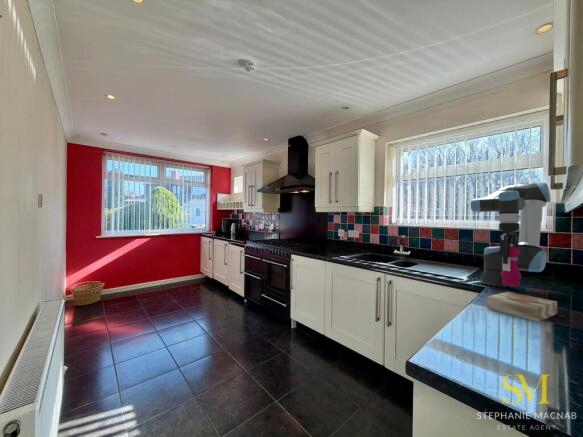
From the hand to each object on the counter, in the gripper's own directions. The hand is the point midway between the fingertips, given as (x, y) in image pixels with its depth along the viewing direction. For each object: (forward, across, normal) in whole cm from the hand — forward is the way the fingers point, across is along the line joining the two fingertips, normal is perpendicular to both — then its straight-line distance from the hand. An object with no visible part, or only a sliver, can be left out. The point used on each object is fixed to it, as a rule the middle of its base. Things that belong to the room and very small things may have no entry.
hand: (509, 269), depth 118 cm
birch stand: (+14, -17, -10) cm, 24 cm away
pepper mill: (+7, 0, 0) cm, 7 cm away
